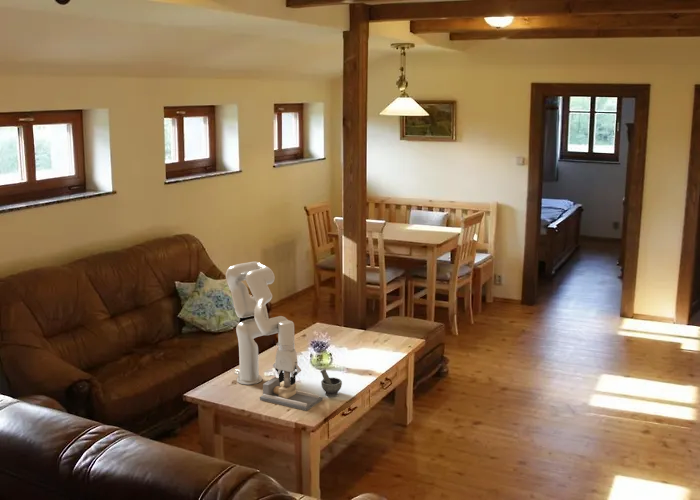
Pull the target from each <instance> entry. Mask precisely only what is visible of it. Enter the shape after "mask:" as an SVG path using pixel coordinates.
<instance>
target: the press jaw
mask: <svg viewBox="0 0 700 500" xmlns="http://www.w3.org/2000/svg"><path fill="white" fill-rule="evenodd" d="M283 373H284V381H283V385H281V386H280V388H279V397H281V398H285V399H288V398H290V397H291V396H293V395H295V394H296V390H297V384H296V383H295V384H293V385H291V384H290V377H291V373H290V372H287V371H283Z"/></svg>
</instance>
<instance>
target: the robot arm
mask: <svg viewBox="0 0 700 500" xmlns="http://www.w3.org/2000/svg"><path fill="white" fill-rule="evenodd" d="M275 278H276V277H275V273H274V272H273V270H272V269H271V268H270V267H269V266H267V265H265V264H262V263H261V262H259V261H249V262H243V263H237V264H234V265H230V266H229V267H228V268H227V269H226V272H225V280H226V283H227V286H228V288H229V290H230V293H231V298H232V303H233V308H234V311H235V314H236V316H237V317H238V318H241V319H245V318H249V317H254V318H249V319H245V320H242V321H241V322H239V323H238V324H237V325H236V328H235V329H236V330H235V331H236V337H237V341H238V357H239V360H238V361H239V369H237V368H236V369H235V370H234V372H233V374H234V375H237V378H236V381H237V383H238V384H241V385H245V386H246V385H256V384H258V383H261V382H262V380H263V376H262V375H260V372H259V368H260V367H259V346H258V343H257V342H256V341H255V340H254V339H256V338H258V337H262V336H270V335H275V334H277V338H278V342H276V346H278V347H277V349H276V354H275V360H274V363H273V364H272V367H273V368H274V369H275V371H276V373H277V375H278V378H279V382H280V384H281V383H282V382H284V371H287V372H290V384H291V385H293V384H296V376H297V375H298V374H299V373H301V371H302V369H301V368H300V367H299V365H298V355H297V350H296V348H295V345H296V344H295V323H294V322H293V320H289V319H288V318H287V317H286V316H284V315H283V316H282V315H278V316H275V317H270V318H269V313H268V309H267V304H268V303H269V302H271V300H272V299H273V294H272V292H271V289H270V288H269V285H272V284H273V283H274V282H275ZM244 281H245V282H246V284H247V285H246V284H245V283H244ZM247 286H248V287H247ZM249 290H250V292H251V295H252V296H250V292H249Z"/></svg>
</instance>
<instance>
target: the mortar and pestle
mask: <svg viewBox="0 0 700 500" xmlns="http://www.w3.org/2000/svg"><path fill="white" fill-rule="evenodd" d="M320 373H321V376H322V380H321V381H320V383H321V388H322V389H323V391H324V395H325V396H326V397H328V398H335V397H337V396H339V391H340V390H341V388H342V385H343V381H342V379H340V378H337V377H330V376H329V374H328V373H327V369H325V368H324V369H321V370H320Z"/></svg>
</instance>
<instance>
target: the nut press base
mask: <svg viewBox="0 0 700 500" xmlns="http://www.w3.org/2000/svg"><path fill="white" fill-rule="evenodd" d="M280 387H281V383H280V382H279V377H276V376H274V377H272V378H270V379H269V380H267V381H266V382H264V383H263V384H262V395H261V396H259V400H260V401H263V402H266V403H272V404H276V405H279V406H284V407H289V408H292V409H297V410H301V411H304V412H305V411H306V412H307V411H309V410H310V409H312V408H313V407H314V406H316V405H317V404H319V403H321V402H322V401H323V397H322V396H320V395H319V394H315V393H311V392H307V391H301V390H297V389H296V394H295V395H293V396H291V397H290V398H288V399H285V398H281V397H279V388H280Z"/></svg>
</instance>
